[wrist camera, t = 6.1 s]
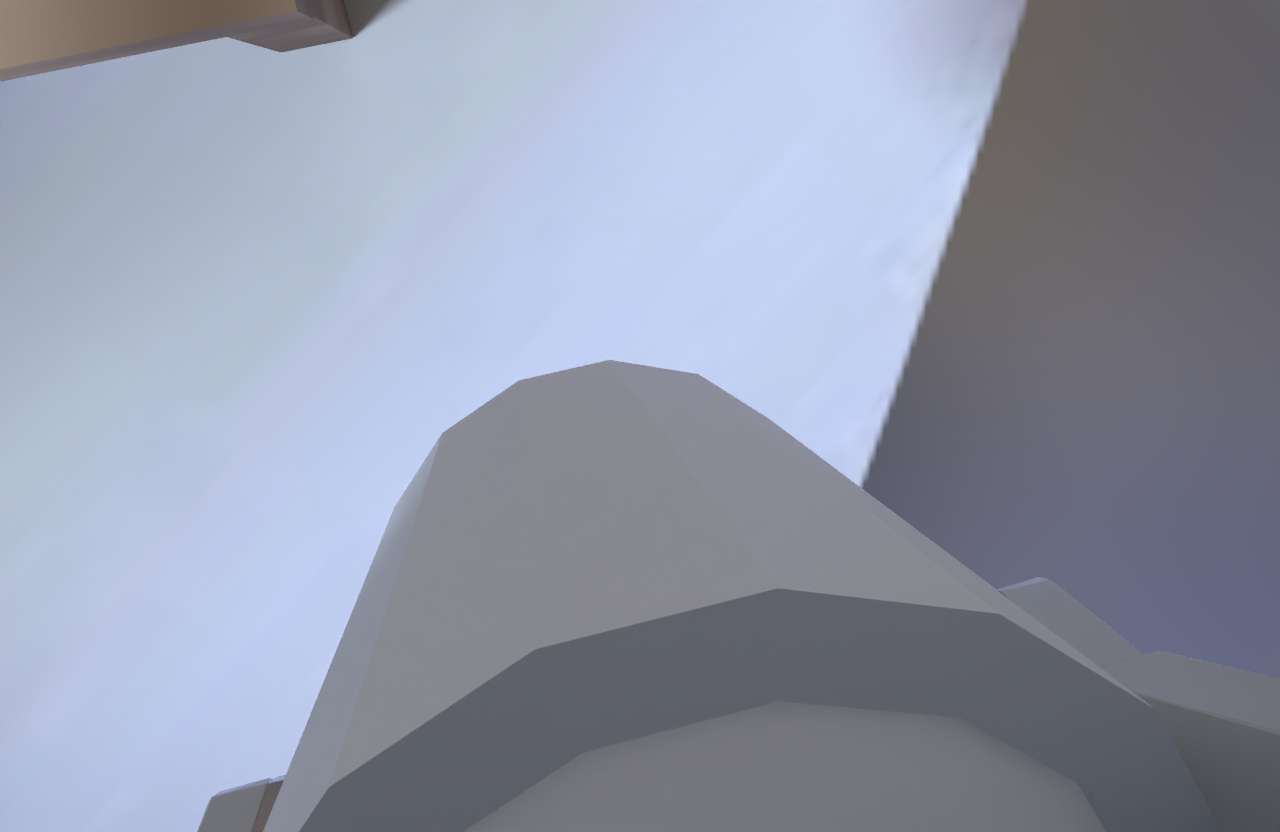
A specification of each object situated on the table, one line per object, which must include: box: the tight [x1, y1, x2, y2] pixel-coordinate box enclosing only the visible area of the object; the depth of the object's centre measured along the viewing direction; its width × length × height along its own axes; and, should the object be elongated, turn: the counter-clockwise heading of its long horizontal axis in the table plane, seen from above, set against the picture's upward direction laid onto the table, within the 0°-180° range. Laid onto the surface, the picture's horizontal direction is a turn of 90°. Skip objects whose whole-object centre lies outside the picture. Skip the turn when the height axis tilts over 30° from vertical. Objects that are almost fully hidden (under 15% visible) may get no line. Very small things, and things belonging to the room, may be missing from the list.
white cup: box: [263, 360, 1222, 832], centre depth 10 cm, size 7×7×7 cm
